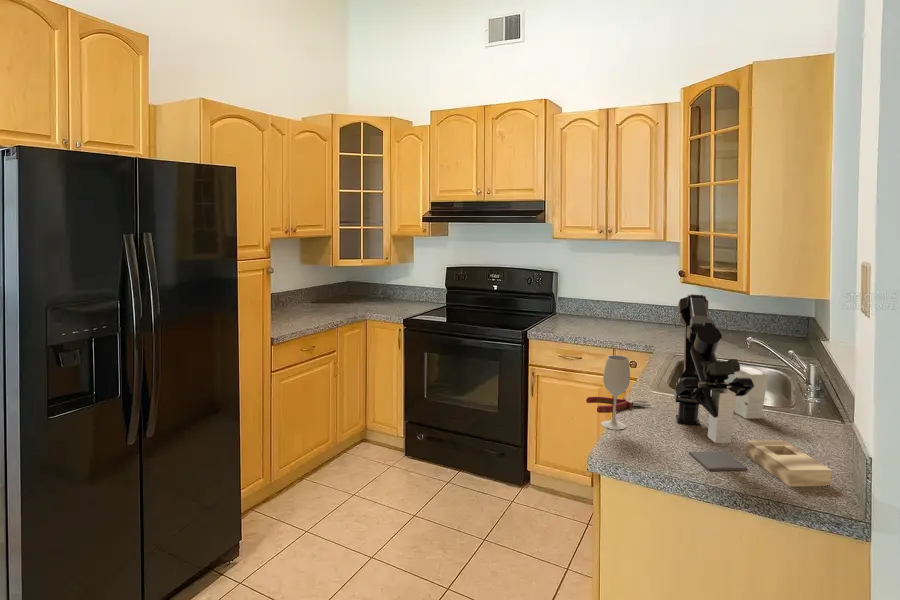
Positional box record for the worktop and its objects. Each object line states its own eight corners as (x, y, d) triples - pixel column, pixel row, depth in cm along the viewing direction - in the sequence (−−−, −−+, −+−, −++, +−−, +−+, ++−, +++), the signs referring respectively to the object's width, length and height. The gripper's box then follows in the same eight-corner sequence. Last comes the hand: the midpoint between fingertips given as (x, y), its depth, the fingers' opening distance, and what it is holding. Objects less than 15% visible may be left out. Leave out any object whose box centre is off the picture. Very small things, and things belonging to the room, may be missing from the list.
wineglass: (600, 419, 176) (604, 353, 173) (626, 422, 174) (631, 355, 171) (599, 428, 169) (604, 359, 166) (626, 431, 167) (631, 361, 164)
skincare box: (729, 410, 187) (733, 366, 185) (746, 409, 188) (750, 366, 186) (746, 419, 179) (751, 373, 177) (763, 418, 180) (768, 373, 178)
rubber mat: (689, 453, 152) (689, 451, 152) (725, 453, 152) (725, 451, 152) (708, 470, 142) (708, 468, 142) (746, 470, 143) (747, 467, 142)
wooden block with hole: (745, 454, 152) (747, 440, 151) (781, 454, 153) (783, 440, 152) (789, 486, 134) (791, 470, 134) (829, 486, 135) (831, 470, 134)
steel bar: (707, 436, 148) (712, 388, 146) (722, 436, 149) (727, 388, 147) (715, 442, 144) (720, 393, 142) (730, 442, 145) (735, 393, 143)
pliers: (657, 412, 185) (657, 405, 185) (598, 414, 182) (598, 406, 182) (640, 401, 196) (641, 394, 196) (584, 403, 194) (585, 395, 193)
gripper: (683, 347, 146) (701, 402, 137) (754, 347, 147) (776, 402, 138) (668, 368, 155) (683, 422, 146) (734, 368, 156) (753, 421, 147)
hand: (724, 416), depth 144 cm, fingers closed on steel bar, 4 cm apart
